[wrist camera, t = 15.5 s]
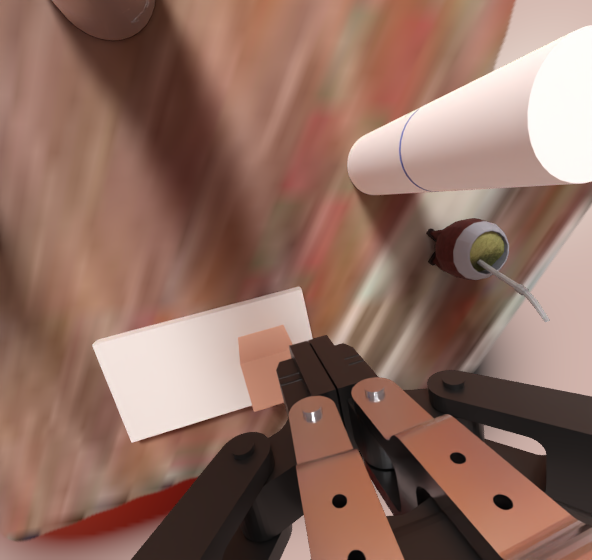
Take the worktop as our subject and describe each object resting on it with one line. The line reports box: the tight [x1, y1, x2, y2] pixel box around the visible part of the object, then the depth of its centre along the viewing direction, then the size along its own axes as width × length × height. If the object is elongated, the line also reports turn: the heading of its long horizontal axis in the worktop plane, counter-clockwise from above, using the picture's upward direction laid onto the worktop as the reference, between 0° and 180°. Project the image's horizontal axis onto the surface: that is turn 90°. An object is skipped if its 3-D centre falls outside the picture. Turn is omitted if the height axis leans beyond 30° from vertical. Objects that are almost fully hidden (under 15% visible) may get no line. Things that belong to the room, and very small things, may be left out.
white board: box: [92, 286, 313, 442], centre depth 41 cm, size 24×13×2 cm, turn 102°
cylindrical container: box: [347, 25, 592, 195], centre depth 29 cm, size 7×7×25 cm
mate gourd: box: [427, 218, 549, 322], centre depth 38 cm, size 8×8×15 cm
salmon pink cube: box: [238, 325, 293, 412], centre depth 38 cm, size 6×6×7 cm
